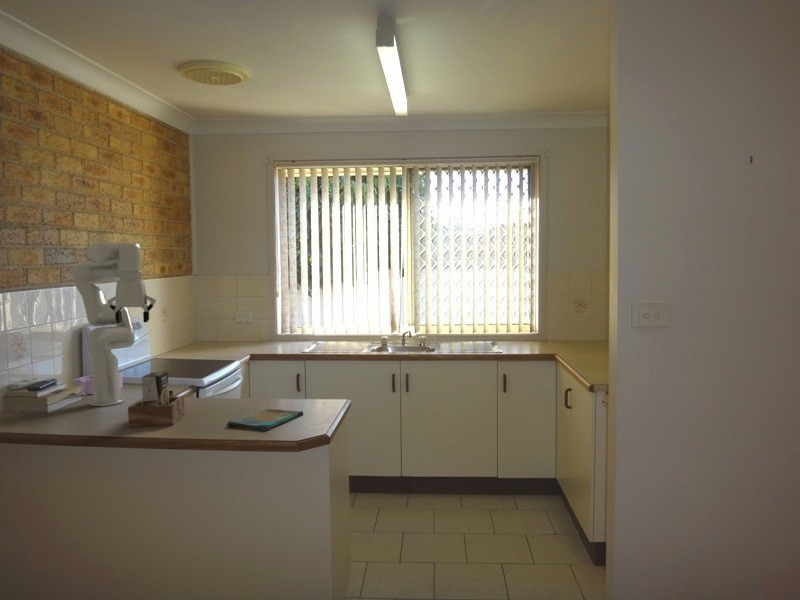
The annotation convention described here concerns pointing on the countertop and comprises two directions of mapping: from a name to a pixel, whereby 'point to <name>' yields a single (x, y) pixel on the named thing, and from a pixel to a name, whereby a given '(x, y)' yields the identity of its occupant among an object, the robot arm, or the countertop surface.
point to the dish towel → (265, 420)
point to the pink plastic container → (90, 383)
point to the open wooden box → (156, 413)
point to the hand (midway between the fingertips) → (132, 322)
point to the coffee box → (155, 389)
